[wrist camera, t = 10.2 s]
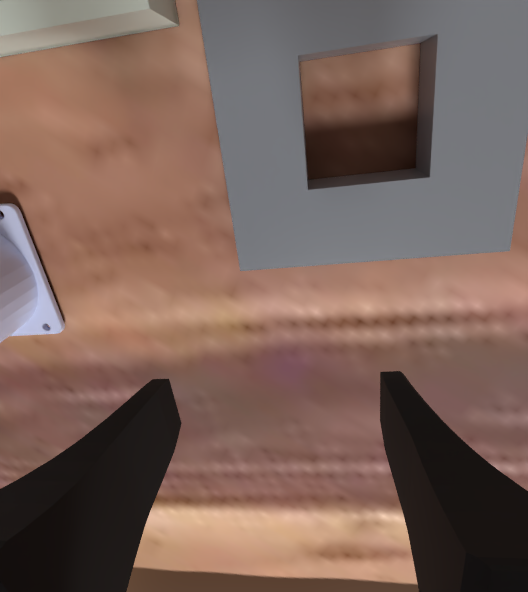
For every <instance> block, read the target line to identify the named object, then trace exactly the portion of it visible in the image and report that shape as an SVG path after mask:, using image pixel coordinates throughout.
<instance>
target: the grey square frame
mask: <svg viewBox="0 0 528 592" xmlns="http://www.w3.org/2000/svg"><path fill="white" fill-rule="evenodd" d="M197 4H198V10H199V16H200V22H201V29H202V35H203V41H204V47H205V54H206V60H207V66H208V72H209V78H210V85H211V91H212V97H213V103H214V110H215V116H216V122H217V128H218V135H219V141H220V147H221V153H222V160H223V166H224V172H225V178H226V184H227V191H228V197H229V203H230V209H231V216H232V222H233V228H234V234H235V241H236V247H237V253H238V259H239V266H240V271H247V270H261V269H274V268H288V267H301V266H315V265H328V264H342V263H355V262H368V261H382V260H395V259H409V258H422V257H436V256H449V255H463V254H476V253H490V252H503V251H510V246H511V239H512V233H513V226H514V219H515V213H516V206H517V200H518V193H519V187H520V180H521V174H522V167H523V160H524V154H525V147H526V141H527V134H528V0H197ZM418 43H421V48H420V72H419V97H418V121H417V146H416V168H413V169H404V170H395V171H385V172H376V173H367V174H358V175H348V176H339V177H330V178H320V179H311V180H308V169H307V155H306V141H305V127H304V114H303V100H302V86H301V72H300V62H301V61H307V60H314V59H320V58H327V57H333V56H340V55H346V54H353V53H359V52H366V51H373V50H379V49H386V48H392V47H399V46H405V45H412V44H418Z"/></svg>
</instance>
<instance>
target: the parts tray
mask: <svg viewBox="0 0 528 592" xmlns="http://www.w3.org/2000/svg"><path fill="white" fill-rule="evenodd" d="M176 26H179V20H178V15H177V9H176V3H175V0H0V57H4V56H10V55H16V54H21V53H27V52H33V51H39V50H44V49H50V48H56V47H62V46H67V45H73V44H79V43H84V42H90V41H96V40H102V39H107V38H113V37H119V36H125V35H130V34H136V33H142V32H147V31H153V30H159V29H165V28H170V27H176Z"/></svg>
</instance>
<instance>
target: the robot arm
mask: <svg viewBox="0 0 528 592" xmlns="http://www.w3.org/2000/svg"><path fill="white" fill-rule="evenodd" d="M0 211H2V212H3V214H4V217H3V216H2V215H1V214H0V343H1V342H2V341H3V340H5V339H6V338H7V337H8V336H19V335H38V334H57V333H60V332H61V331H62V330H63V329H64V328H65V324H64V321H63V319H62V316H61V314H60V311H59V308H58V306H57V303H56V301H55V298H54V296H53V293H52V291H51V288H50V285H49V283H48V280H47V278H46V275H45V273H44V270H43V268H42V265H41V262H40V260H39V257H38V255H37V252H36V250H35V247H34V245H33V242H32V239H31V237H30V234H29V232H28V229H27V227H26V224H25V222H24V219H23V216H22V214H21V211H20V210H19V208H18V207H17V206H16V205H14V204H12V203H5V204H0ZM46 324H48V325H49V326H50V327H48V326H47V325H46ZM380 422H381V428H382V434H383V440H384V446H385V451H386V455H387V458H388V462H389V465H390V469H391V472H392V476H393V479H394V483H395V486H396V490H397V493H398V497H399V500H400V503H401V507H402V510H403V514H404V518H405V522H406V526H407V530H408V534H409V540H410V545H411V550H412V555H413V561H414V566H415V571H416V577H417V582H418V588H419V592H528V491H527V490H525V489H524V488H522V487H521V486H520V485H518V484H517V483H515V482H514V481H513V480H511V479H510V478H508V477H507V476H506V475H504V474H503V473H501V472H500V471H499V470H497V469H496V468H495V467H493V466H492V465H491V464H490V463H488V462H487V461H486V460H485V459H483V458H482V457H481V456H480V455H479V454H477V453H476V452H475V451H474V450H473V449H472V448H470V447H469V446H468V445H467V444H466V443H465V442H464V441H463V440H462V439H461V438H460V437H458V436H457V435H456V434H455V433H454V432H453V431H452V430H451V429H450V428H449V427H448V426H447V425H446V424H445V423H444V422H443V421H442V420H441V419H440V417H439V416H438V415H437V414H436V413H435V412H434V411H433V410H432V409H431V408H430V406H429V405H428V404H427V403H426V402H425V401H424V400H423V398H422V397H421V396H420V395H419V394H418V392H417V391H416V390H415V389H414V387H413V386H412V385H411V384H410V382H409V381H408V380H407V378H406V377H405V376H404V374H403V373H402V372H400V371H393V372H381V373H380ZM180 427H181V420H180V417H179V413H178V409H177V406H176V402H175V399H174V395H173V392H172V388H171V384H170V381H169V379H153V380H151V381H150V382H149V383H147V384H146V385H145V386H144V387H143V388H141V389H140V390H139V391H138V392H137V393H136V394H135V395H133V396H132V397H131V398H130V399H129V400H128V401H127V402H125V403H124V404H123V405H122V406H121V407H120V408H119V409H117V410H116V411H115V412H114V413H113V414H112V415H110V416H109V417H108V418H107V419H106V420H104V421H103V422H102V423H101V424H99V425H98V426H97V427H96V428H94V429H93V430H92V431H90V432H89V433H88V434H87V435H85V436H84V437H83V438H82V439H80V440H79V441H78V442H76V443H75V444H73V445H72V446H71V447H69V448H68V449H66V450H65V451H63V452H62V453H60V454H59V455H57V456H56V457H55V458H53V459H51V460H50V461H48V462H47V463H45V464H43V465H42V466H40V467H38V468H37V469H35V470H33V471H32V472H30V473H28V474H27V475H25V476H23V477H22V478H20V479H18V480H16V481H15V482H13V483H11V484H9V485H7V486H5V487H3V488H1V489H0V592H126V591H127V587H128V583H129V579H130V576H131V572H132V568H133V565H134V561H135V557H136V554H137V550H138V547H139V544H140V540H141V537H142V534H143V530H144V527H145V524H146V521H147V518H148V516H149V513H150V510H151V508H152V505H153V503H154V500H155V498H156V495H157V493H158V490H159V488H160V486H161V483H162V481H163V478H164V476H165V473H166V471H167V468H168V466H169V463H170V461H171V458H172V456H173V453H174V450H175V447H176V443H177V439H178V435H179V431H180Z"/></svg>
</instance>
